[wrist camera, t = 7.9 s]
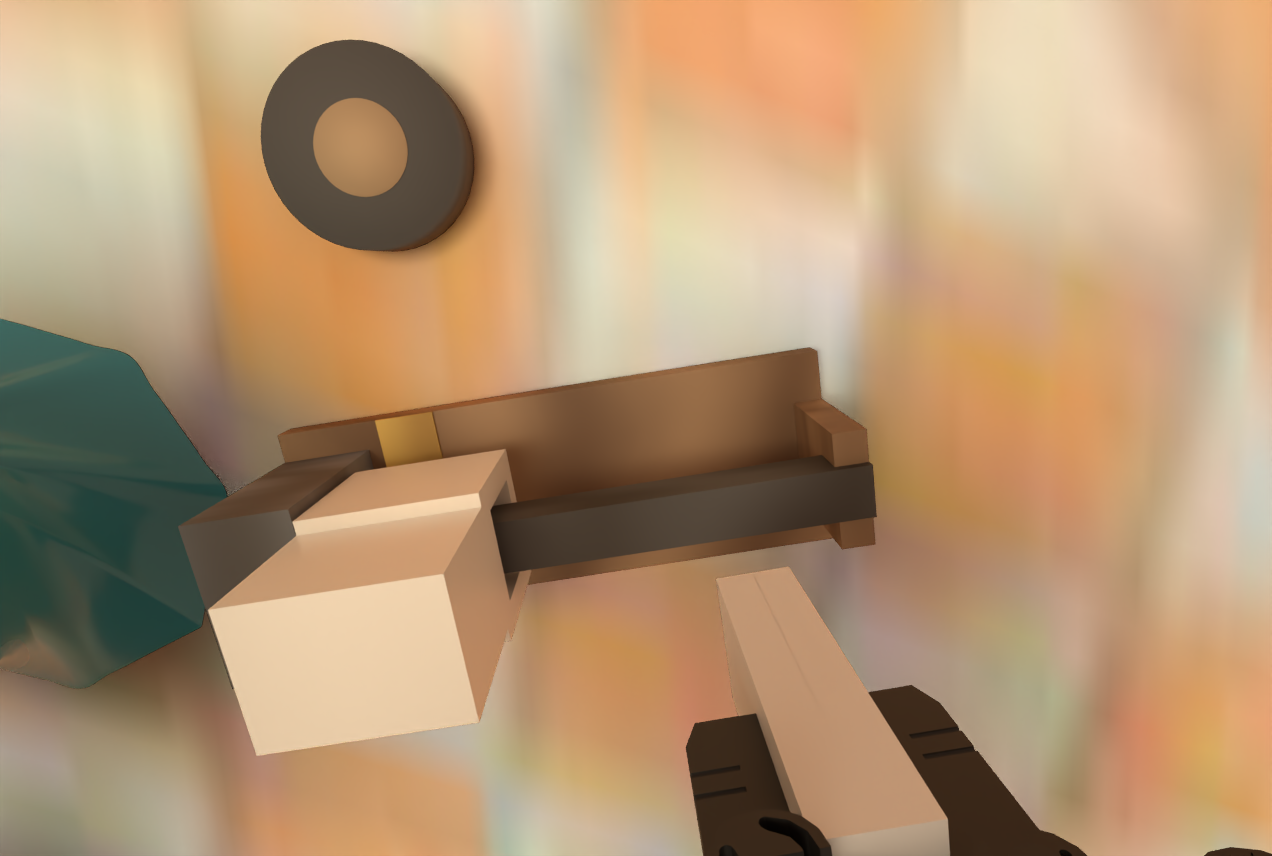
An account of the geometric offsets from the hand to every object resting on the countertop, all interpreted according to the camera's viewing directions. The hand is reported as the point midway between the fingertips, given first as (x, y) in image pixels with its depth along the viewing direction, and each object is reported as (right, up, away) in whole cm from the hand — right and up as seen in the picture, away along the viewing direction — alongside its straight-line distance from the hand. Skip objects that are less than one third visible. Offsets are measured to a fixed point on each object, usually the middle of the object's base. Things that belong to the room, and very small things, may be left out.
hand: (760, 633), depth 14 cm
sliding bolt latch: (-5, +2, +12) cm, 13 cm away
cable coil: (-11, +13, +9) cm, 19 cm away
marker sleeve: (-9, +1, +9) cm, 13 cm away
